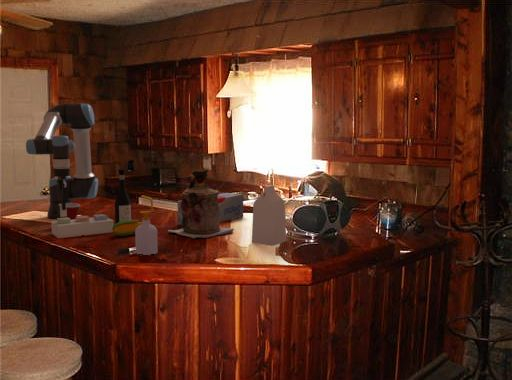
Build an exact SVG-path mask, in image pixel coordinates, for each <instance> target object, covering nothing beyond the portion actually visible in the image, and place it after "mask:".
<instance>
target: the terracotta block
mask: <svg viewBox="0 0 512 380" xmlns="http://www.w3.org/2000/svg"><path fill="white" fill-rule="evenodd" d="M89 218H90V216H88V215H78V216H77V217H76V222H85V221H89Z"/></svg>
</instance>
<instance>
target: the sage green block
mask: <svg viewBox="0 0 512 380" xmlns="http://www.w3.org/2000/svg"><path fill="white" fill-rule="evenodd" d="M56 221H57V223H58V224H68V223H71V219H70V218H68V217H67V218H57V219H56Z"/></svg>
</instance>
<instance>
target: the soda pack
mask: <svg viewBox="0 0 512 380" xmlns="http://www.w3.org/2000/svg"><path fill="white" fill-rule="evenodd" d="M181 200H182V199H181ZM181 200H176V202H177V203H176V204H177V225H178V226H181V227H182V218H183V217H182V210H181ZM218 205H219V212H220V222H219V223H221V222H226V221H230V220H237V219H240V218H244V194H243V193H233V192H223V193H219V195H218Z"/></svg>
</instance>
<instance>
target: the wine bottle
mask: <svg viewBox="0 0 512 380" xmlns="http://www.w3.org/2000/svg"><path fill="white" fill-rule="evenodd" d="M125 173H126V170H125V169H123V168H121V169H120V168H119V169H118V182H119V183H118V184H119V186H118V187H119V188H118V192H117V194H116V197H115V201H114V221H115V223H114V225H115V224H116V223H118V222H121V221H127V220H132V216H131V215H132V213H131V212H132V211H131V208H132V206H131V200H130V197H129V195H128V193H127V190H126V186H125V185H126V184H125V183H126V182H125Z"/></svg>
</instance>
